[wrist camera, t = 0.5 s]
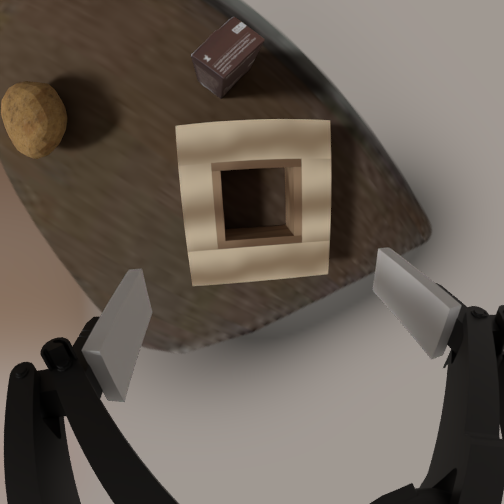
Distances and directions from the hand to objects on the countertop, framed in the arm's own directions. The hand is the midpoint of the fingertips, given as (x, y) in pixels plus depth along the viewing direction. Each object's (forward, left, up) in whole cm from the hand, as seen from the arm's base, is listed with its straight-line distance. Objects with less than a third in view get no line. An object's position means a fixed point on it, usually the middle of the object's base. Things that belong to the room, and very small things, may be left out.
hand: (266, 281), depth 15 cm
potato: (-16, -28, -25) cm, 41 cm away
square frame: (0, +2, -25) cm, 25 cm away
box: (-17, -1, -25) cm, 30 cm away
